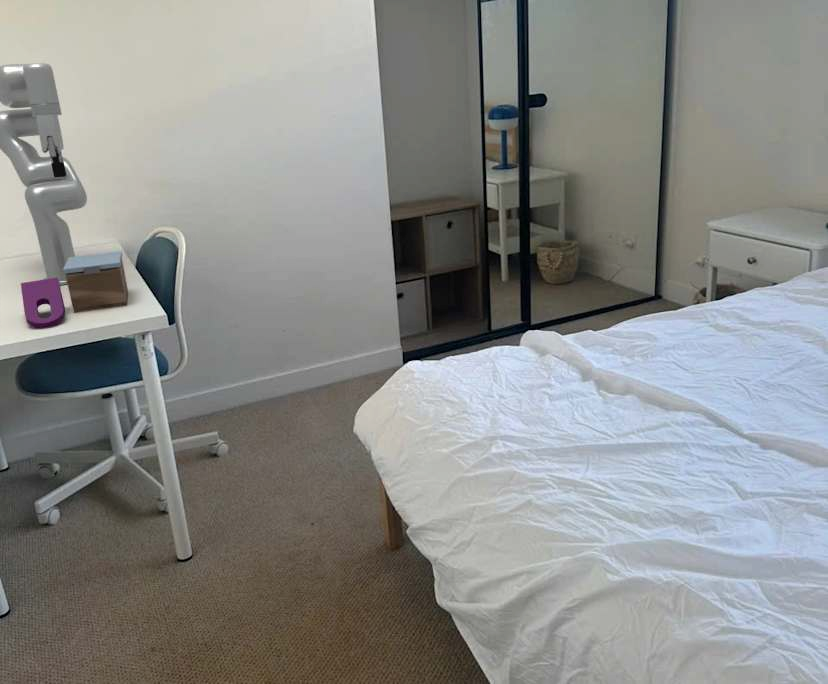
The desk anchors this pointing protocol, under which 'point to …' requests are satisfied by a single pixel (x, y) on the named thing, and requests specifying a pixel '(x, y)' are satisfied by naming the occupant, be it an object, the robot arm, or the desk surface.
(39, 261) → the desk surface
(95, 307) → the storage box
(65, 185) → the robot arm
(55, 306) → the mounting bracket
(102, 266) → the lid
